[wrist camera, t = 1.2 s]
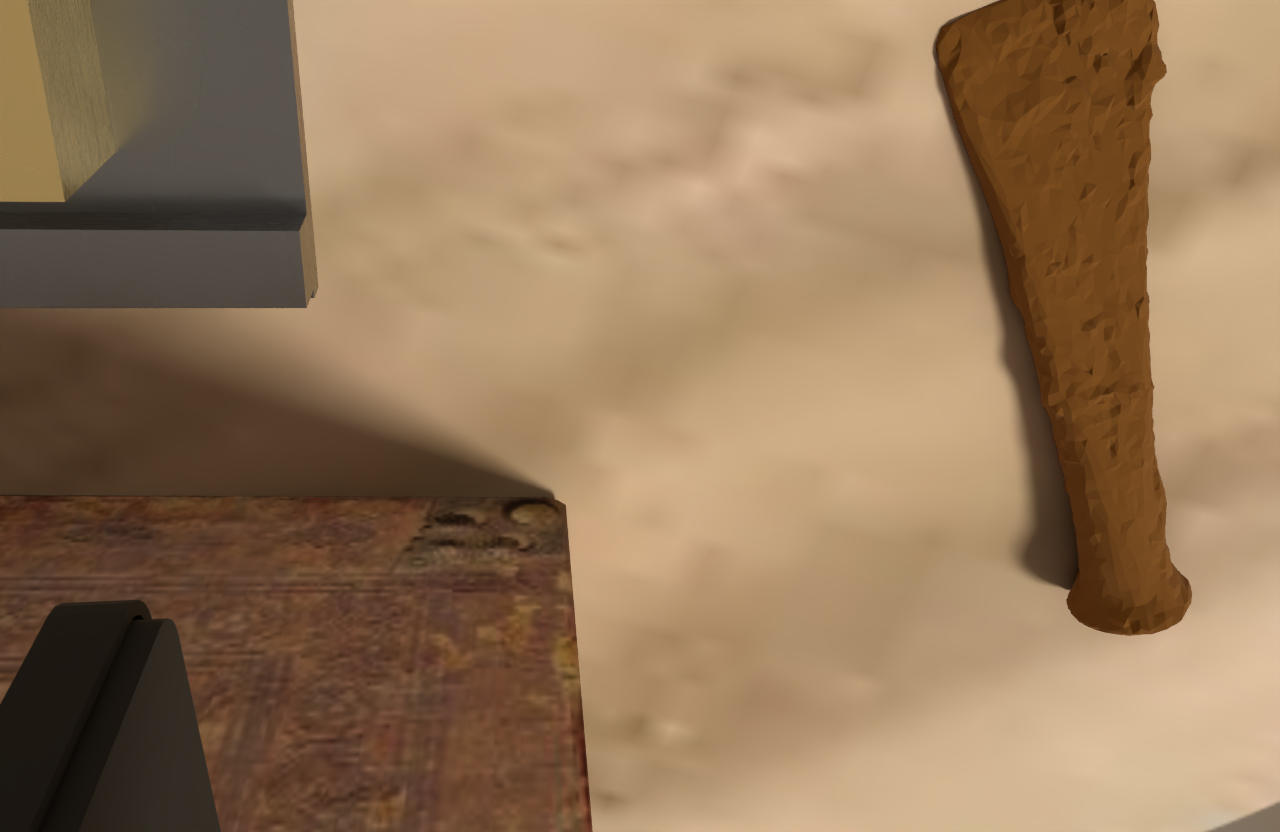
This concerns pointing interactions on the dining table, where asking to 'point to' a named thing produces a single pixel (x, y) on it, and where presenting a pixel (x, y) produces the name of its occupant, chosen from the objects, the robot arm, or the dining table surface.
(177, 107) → the grey block holder
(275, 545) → the book
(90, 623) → the robot arm
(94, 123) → the tan wooden cube
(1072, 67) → the primitive tool
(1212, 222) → the dining table surface
